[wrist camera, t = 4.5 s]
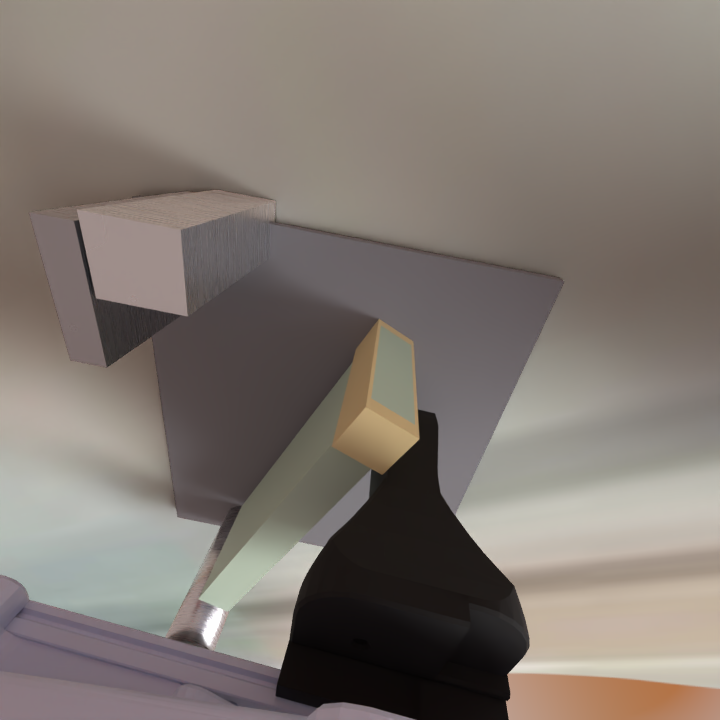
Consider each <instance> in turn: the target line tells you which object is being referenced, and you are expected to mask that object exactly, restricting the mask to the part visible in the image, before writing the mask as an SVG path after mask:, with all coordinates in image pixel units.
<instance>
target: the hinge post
mask: <svg viewBox="0 0 720 720" xmlns="http://www.w3.org/2000/svg"><path fill="white" fill-rule="evenodd" d="M241 507H242V506H235V507H232V508H231V509H230V510H229V511H228V513H227V515H226V517H225V519H224V521H223V523H222V525H221V527H220V529H219V531H218V533H217V535H216V537H215V539H214V541H213V543H212V545H211V547H210V549H209V551H208V553H207V555H206V557H205V559H204V561H203V563H202V565H201V567H200V569H199V571H198V573H197V575H196V577H195V579H194V581H193V583H192V585H191V587H190V589H189V591H188V593H187V595H186V597H185V599H184V601H183V603H182V605H181V607H180V609H179V611H178V613H177V615H176V617H175V619H174V621H173V623H172V625H171V627H170V629H169V631H168V633H167V635H166V637H165V638H168V639H172V640H176V641H179V642H183V643H186V644H190V645H194V646H197V647H201V648H204V649H208V650H212V651H214V649H215V647H216V644H217V642H218V639H219V636H220V634H221V631H222V629H223V626H224V623H225V621H226V618H227V616H228V613H229V611H228V612H227V611H225V610H223V609H220V608H218V607H216V606H213V605H211V604H208V603H206V602H204V601H201V600H199V597H200V594H201V592H202V590H203V588H204V586H205V584H206V582H207V579H208V577H209V575H210V573H211V571H212V569H213V567H214V564H215V562H216V560H217V558H218V556H219V554H220V552H221V549H222V547H223V545H224V543H225V541H226V539H227V537H228V534H229V532H230V530H231V528H232V526H233V524H234V522H235V519H236V517H237V515H238V513H239V511H240V509H241Z"/></svg>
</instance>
